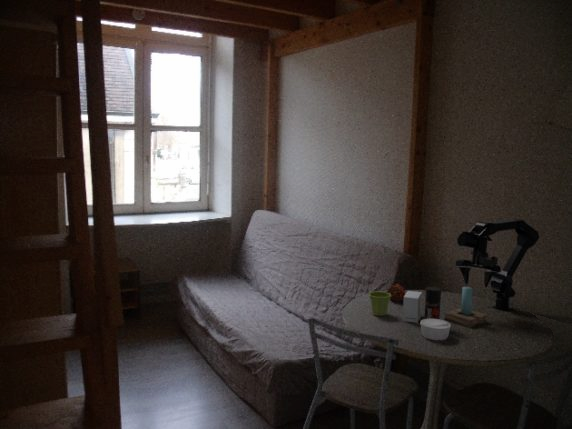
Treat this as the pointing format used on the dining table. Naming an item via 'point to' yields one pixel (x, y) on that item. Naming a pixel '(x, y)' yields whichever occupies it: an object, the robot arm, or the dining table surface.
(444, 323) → the ramekin
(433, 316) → the deodorant
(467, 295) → the peg
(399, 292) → the dragon fruit
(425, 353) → the dining table surface
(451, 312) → the socket block
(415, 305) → the skincare box
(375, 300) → the plant pot
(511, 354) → the dining table surface
